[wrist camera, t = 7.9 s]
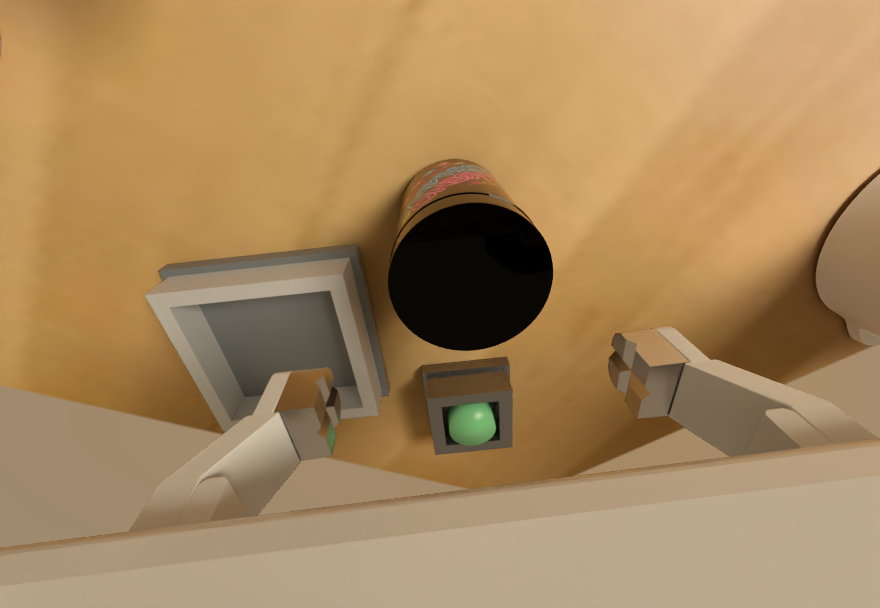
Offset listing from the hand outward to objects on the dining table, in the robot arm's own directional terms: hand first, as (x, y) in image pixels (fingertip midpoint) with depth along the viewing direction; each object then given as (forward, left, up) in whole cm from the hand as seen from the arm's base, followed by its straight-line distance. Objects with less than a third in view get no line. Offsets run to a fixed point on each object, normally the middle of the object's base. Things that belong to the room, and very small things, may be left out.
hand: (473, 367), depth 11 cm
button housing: (-1, +16, -15) cm, 22 cm away
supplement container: (-1, 0, -16) cm, 16 cm away
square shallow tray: (+12, +8, -15) cm, 21 cm away
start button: (-1, +16, -14) cm, 21 cm away
